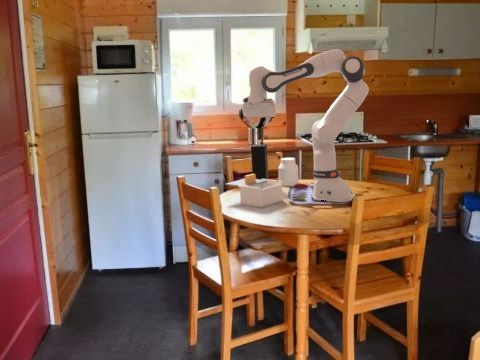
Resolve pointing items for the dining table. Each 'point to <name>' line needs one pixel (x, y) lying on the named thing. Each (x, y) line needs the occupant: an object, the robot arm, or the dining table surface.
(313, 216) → the dining table surface
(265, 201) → the carton
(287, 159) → the jar
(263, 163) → the black tall block
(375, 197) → the dining table surface
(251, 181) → the lid
